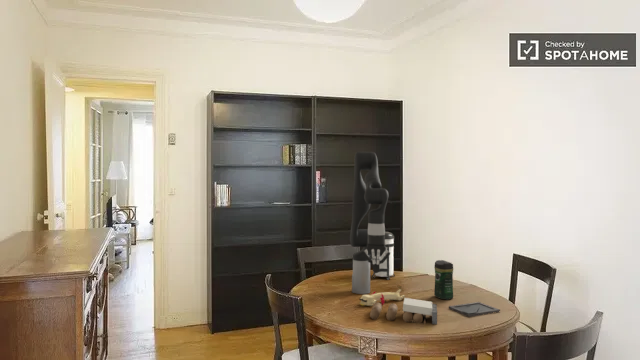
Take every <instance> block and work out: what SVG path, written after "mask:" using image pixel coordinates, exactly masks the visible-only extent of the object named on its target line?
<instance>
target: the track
mask: <svg viewBox="0 0 640 360" xmlns="http://www.w3.org/2000/svg"><path fill="white" fill-rule="evenodd" d="M382 309H383V305H382V303H381V302H375V304H373V306H372V308H371V310H370V313H369V316H370V319H372V320H374V321H375V320H378V319H379V318H380V316H381V312H382ZM398 310H399V309H398V305H397V304H396V303H390V304H389V305H388V308H387V311H386V315H385V316H386V319H387V320H388V321H389V322H391V321H395V319H397V318H396V317H397V312H398ZM402 313H403V314H402V320H403V321H404V323H405V322H406V323H410V322H411V323H412V324H414V321H413V314H414V313H412V312H406V311H403V312H402ZM426 316H427V315H425V314H423V325H424V324H425V325H426V319H427V318H426Z"/></svg>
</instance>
